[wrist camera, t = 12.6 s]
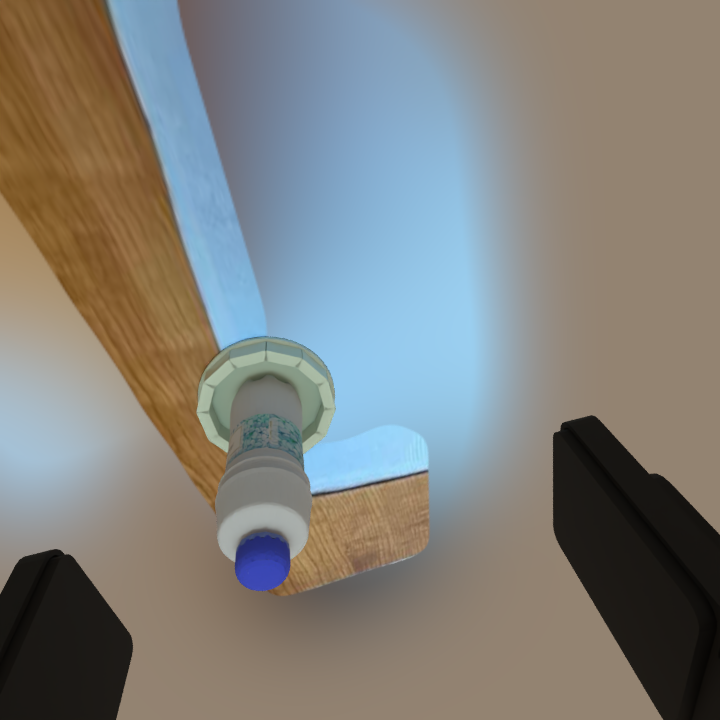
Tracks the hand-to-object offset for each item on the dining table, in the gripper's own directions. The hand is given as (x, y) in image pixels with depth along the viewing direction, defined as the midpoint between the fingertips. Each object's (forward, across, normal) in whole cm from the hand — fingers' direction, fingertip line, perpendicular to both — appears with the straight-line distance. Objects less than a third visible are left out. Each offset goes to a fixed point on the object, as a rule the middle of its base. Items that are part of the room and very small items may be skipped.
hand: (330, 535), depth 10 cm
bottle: (+34, +7, +18) cm, 39 cm away
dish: (+34, +7, +18) cm, 39 cm away
